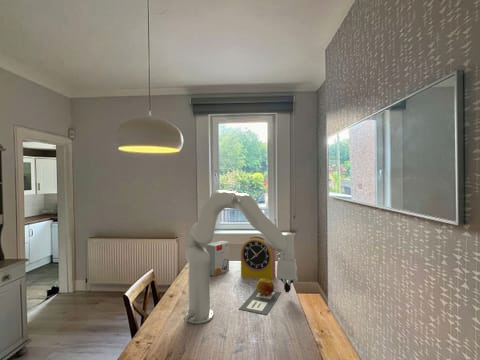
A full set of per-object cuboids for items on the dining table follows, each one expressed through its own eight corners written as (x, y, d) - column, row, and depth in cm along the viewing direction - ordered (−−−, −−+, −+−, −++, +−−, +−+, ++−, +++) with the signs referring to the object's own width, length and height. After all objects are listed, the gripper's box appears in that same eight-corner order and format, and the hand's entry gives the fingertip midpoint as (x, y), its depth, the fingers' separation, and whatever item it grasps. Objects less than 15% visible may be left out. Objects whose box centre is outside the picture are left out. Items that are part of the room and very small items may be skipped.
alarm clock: (240, 276, 168) (240, 235, 168) (245, 271, 176) (245, 233, 177) (272, 280, 160) (271, 238, 160) (275, 275, 168) (275, 235, 168)
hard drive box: (214, 276, 168) (214, 246, 168) (206, 274, 173) (205, 244, 173) (229, 270, 180) (229, 241, 181) (221, 268, 185) (221, 240, 185)
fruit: (277, 294, 140) (277, 279, 140) (267, 299, 133) (267, 284, 134) (264, 289, 147) (263, 274, 147) (253, 294, 140) (253, 279, 140)
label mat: (266, 315, 119) (266, 314, 119) (238, 309, 124) (238, 308, 124) (281, 292, 143) (281, 291, 143) (257, 288, 148) (257, 287, 148)
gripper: (271, 257, 135) (271, 292, 135) (299, 260, 129) (300, 296, 129) (275, 253, 142) (275, 286, 142) (302, 256, 136) (303, 291, 136)
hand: (287, 291), depth 135 cm, fingers closed
